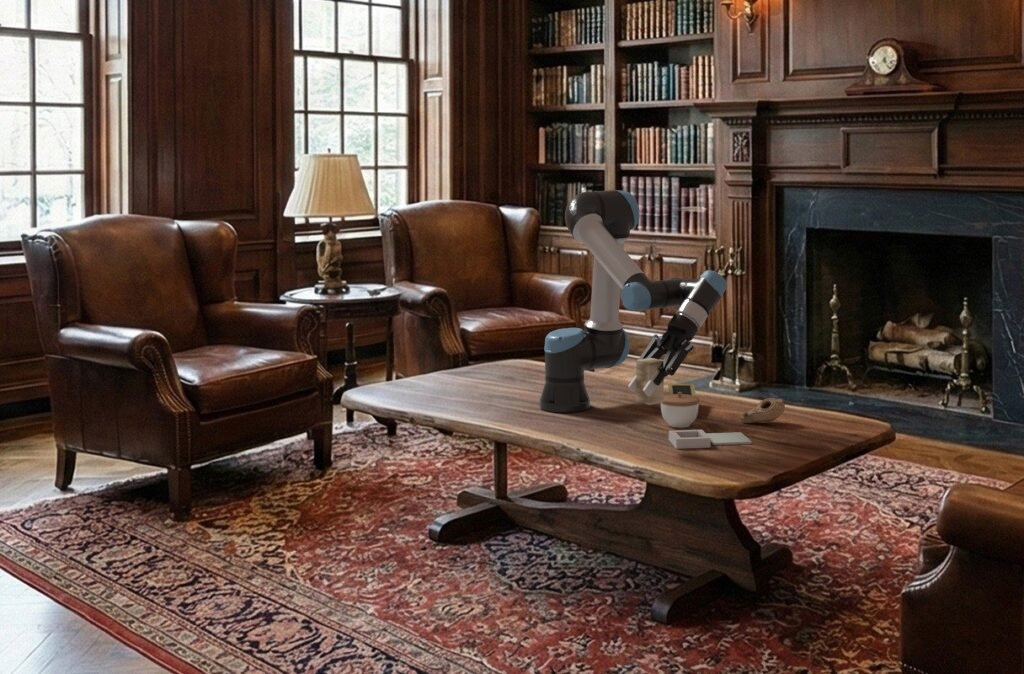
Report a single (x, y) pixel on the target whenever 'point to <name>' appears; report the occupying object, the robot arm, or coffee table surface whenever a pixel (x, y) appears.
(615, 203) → the robot arm
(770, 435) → the coffee table surface
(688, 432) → the stone well
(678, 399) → the lidded jar
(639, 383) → the maple block
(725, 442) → the felt pad
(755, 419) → the pottery oil lamp
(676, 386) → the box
